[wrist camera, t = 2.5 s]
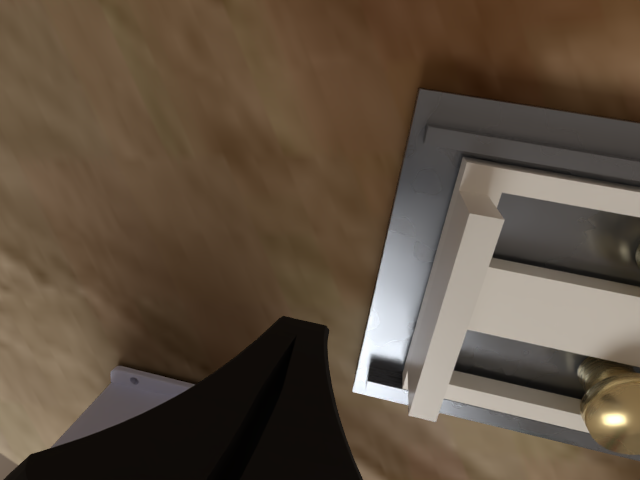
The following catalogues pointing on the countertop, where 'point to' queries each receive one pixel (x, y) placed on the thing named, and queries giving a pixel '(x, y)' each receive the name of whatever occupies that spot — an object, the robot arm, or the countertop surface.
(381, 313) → the boss plate
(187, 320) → the countertop surface
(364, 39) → the countertop surface
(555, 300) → the panel
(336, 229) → the countertop surface
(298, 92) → the countertop surface
